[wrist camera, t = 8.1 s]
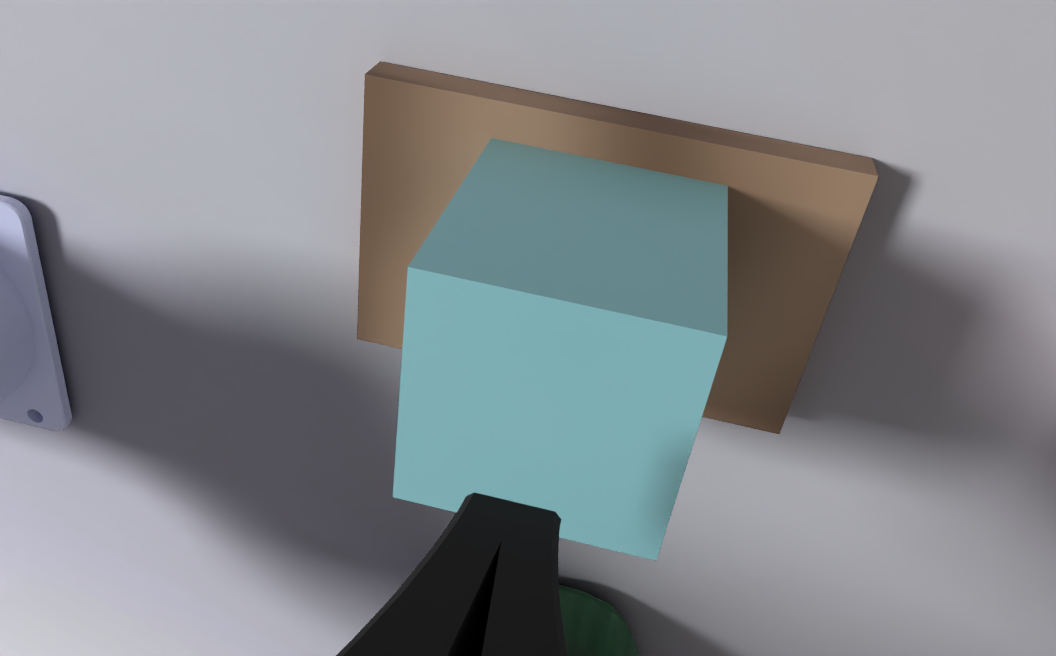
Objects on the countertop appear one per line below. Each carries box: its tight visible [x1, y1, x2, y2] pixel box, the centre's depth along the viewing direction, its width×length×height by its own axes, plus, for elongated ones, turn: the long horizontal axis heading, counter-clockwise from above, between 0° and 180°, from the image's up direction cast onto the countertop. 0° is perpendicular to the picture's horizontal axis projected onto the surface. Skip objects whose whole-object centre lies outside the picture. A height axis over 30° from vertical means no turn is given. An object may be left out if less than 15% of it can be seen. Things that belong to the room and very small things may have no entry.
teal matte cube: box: [393, 138, 728, 561], centre depth 18 cm, size 5×5×6 cm
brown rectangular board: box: [357, 62, 879, 434], centre depth 19 cm, size 11×7×5 cm, turn 82°
